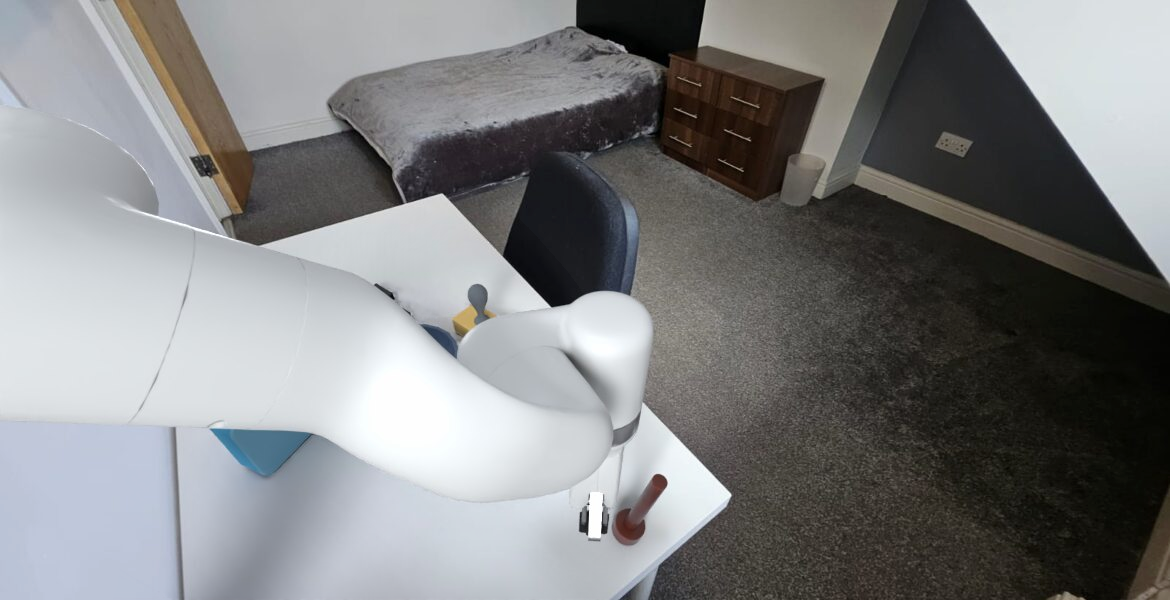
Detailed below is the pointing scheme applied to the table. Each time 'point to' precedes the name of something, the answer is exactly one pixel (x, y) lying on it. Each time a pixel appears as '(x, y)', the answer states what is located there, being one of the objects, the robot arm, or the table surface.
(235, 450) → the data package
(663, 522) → the table surface
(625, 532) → the red capped peg
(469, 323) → the rubber stamp
